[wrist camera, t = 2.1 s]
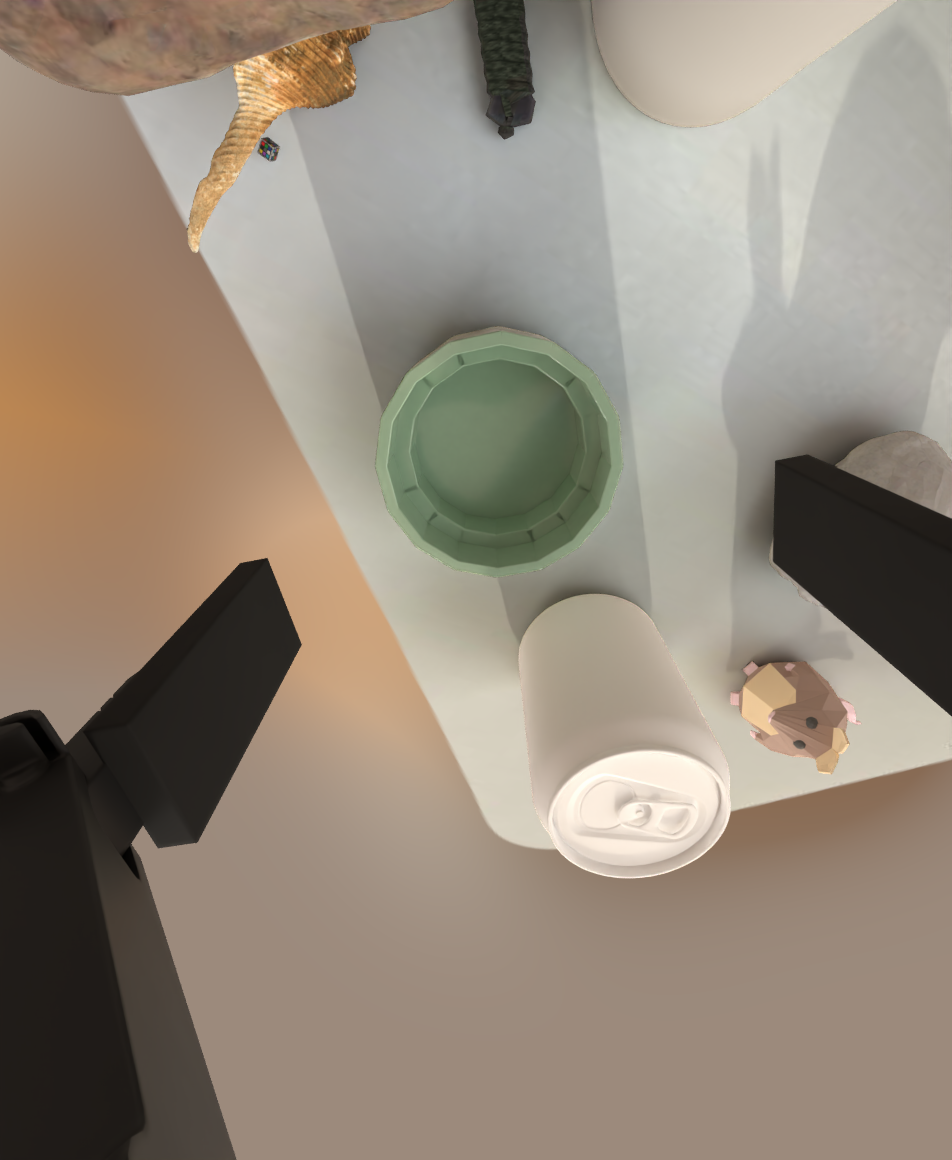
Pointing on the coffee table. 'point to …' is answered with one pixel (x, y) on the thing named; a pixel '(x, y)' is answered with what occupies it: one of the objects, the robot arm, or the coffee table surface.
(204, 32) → the stone
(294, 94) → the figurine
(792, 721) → the mouse figurine
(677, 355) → the coffee table surface
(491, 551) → the bowl
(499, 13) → the knife
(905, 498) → the robot arm
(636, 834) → the beverage can
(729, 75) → the mug
